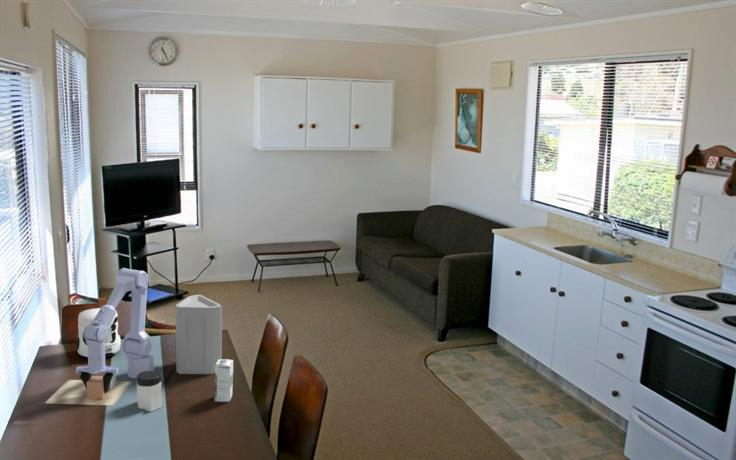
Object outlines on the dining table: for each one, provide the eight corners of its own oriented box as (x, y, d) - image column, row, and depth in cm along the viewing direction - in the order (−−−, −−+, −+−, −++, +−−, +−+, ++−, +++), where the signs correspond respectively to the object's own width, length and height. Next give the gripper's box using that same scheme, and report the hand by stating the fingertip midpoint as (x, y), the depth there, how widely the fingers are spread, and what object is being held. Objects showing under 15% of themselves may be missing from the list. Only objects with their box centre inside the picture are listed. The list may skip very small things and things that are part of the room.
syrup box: (217, 395, 247) (217, 358, 245) (233, 395, 248) (233, 359, 245) (214, 401, 242) (214, 364, 239) (230, 402, 242) (230, 365, 239)
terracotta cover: (108, 392, 243) (108, 376, 242) (102, 399, 237) (102, 382, 236) (93, 392, 243) (92, 375, 241) (87, 399, 237) (86, 382, 236)
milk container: (91, 344, 290) (89, 305, 287) (128, 348, 288) (127, 309, 285) (68, 359, 273) (66, 318, 270) (107, 363, 271) (106, 321, 268)
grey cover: (116, 383, 251) (115, 367, 249) (110, 390, 245) (110, 373, 244) (101, 383, 250) (100, 367, 249) (95, 389, 245) (95, 373, 244)
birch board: (131, 384, 253) (131, 381, 253) (113, 407, 234) (113, 405, 233) (68, 382, 252) (68, 379, 252) (44, 405, 233) (44, 403, 232)
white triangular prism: (166, 365, 272) (166, 300, 267) (199, 357, 282) (199, 294, 277) (188, 380, 259) (188, 312, 253) (222, 371, 269) (222, 305, 263)
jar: (163, 409, 234) (162, 378, 232) (139, 413, 230) (138, 381, 228) (159, 399, 242) (158, 368, 239) (135, 402, 238) (135, 371, 236)
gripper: (71, 360, 233) (73, 395, 235) (113, 361, 233) (114, 397, 236) (79, 352, 240) (80, 387, 242) (119, 354, 240) (120, 388, 243)
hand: (97, 391), depth 240 cm, fingers closed on terracotta cover, 6 cm apart
